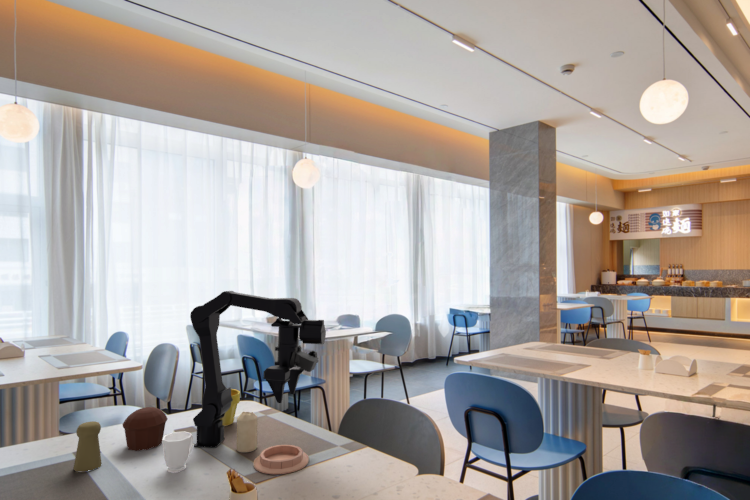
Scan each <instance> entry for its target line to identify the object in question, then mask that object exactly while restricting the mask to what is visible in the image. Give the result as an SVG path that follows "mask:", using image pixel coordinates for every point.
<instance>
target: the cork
mask: <svg viewBox="0 0 750 500" xmlns="http://www.w3.org/2000/svg"><path fill="white" fill-rule="evenodd" d="M101 430H102V426H101V424H100V422H99V421H96V420H95V421H86V422H82V423H80V424H79V425H78V427H77V429H76V431H75V432H76V434H75V435H76V436H77V438H78V441H77V448H76V454H75V459H74V463H73V464H74V465H73V469H74V470H75V471H88V470H93V469H95V468H97V469H99V468H100V467H102V465H101V464H103V463H102V456H101V448H100V447H101V446H100V440H99V434H100V432H101ZM98 467H99V468H98ZM95 470H96V469H95ZM93 471H94V470H93Z"/></svg>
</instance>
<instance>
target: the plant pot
mask: <svg viewBox="0 0 750 500" xmlns="http://www.w3.org/2000/svg"><path fill="white" fill-rule="evenodd" d="M231 397H232V399H233V401H232V402H231V407H230V408H229V410H228V411H226V412H225V415H224V417H222V418H221V419H220V420H223V421H222V425H224V427H227V426H230V425H232V424H234V420H235V415H236V411H237V407H238V404H240V400H241V399H240V398H241V391H240V390H238V389H234V388H231Z"/></svg>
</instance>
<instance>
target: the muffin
mask: <svg viewBox="0 0 750 500" xmlns="http://www.w3.org/2000/svg"><path fill="white" fill-rule="evenodd" d="M167 421H168V417H167V415H166V413H165V412H164V411H163V410H162V409H160V408H157V407H154V406H147V407H146V406H145V407H142V408H138V409H136V410H135V411H133V412H131V414H129V415H127V416H126V418H125V420H124V421H123V423H122V427H123V429H124V433H125V434H124V435H125V441H126V447H127V450H128V451H132V452H133V451H134V452H139V451H148V450H150V449H154V448H157V447H159V446H160V445H161V444H163V443H162V439H163V437H164V432H165V430H166V429H165V427H166V423H167Z"/></svg>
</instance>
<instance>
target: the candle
mask: <svg viewBox="0 0 750 500" xmlns="http://www.w3.org/2000/svg"><path fill="white" fill-rule="evenodd" d="M257 448H258V415H256V413H254V412H253V411H251V412H249V411H242V412H241V413H240V414H239V415H238V417H237V418H236V451H237V452H239V453H250V452H251V453H252V452H254V451H255V450H257Z"/></svg>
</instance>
